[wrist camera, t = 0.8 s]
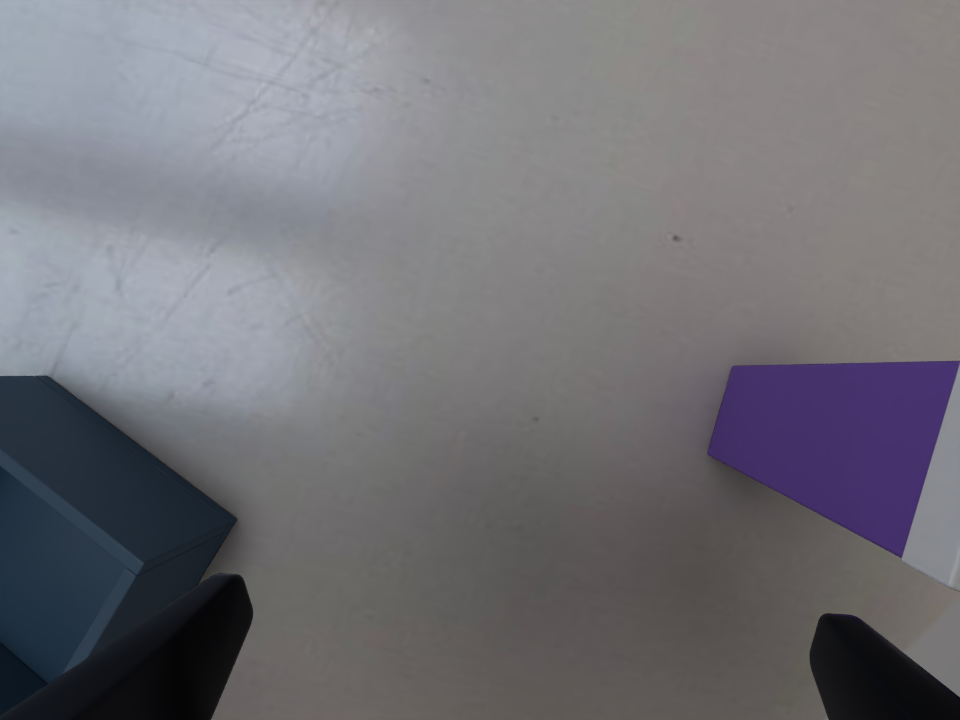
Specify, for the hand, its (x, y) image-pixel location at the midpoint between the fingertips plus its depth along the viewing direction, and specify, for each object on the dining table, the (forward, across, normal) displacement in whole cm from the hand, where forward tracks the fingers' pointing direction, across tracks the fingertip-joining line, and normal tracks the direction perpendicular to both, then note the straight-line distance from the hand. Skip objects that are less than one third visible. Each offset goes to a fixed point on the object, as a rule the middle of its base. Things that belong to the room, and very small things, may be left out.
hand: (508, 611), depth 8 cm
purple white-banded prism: (+14, -9, +4) cm, 17 cm away
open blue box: (+11, +24, +11) cm, 28 cm away
